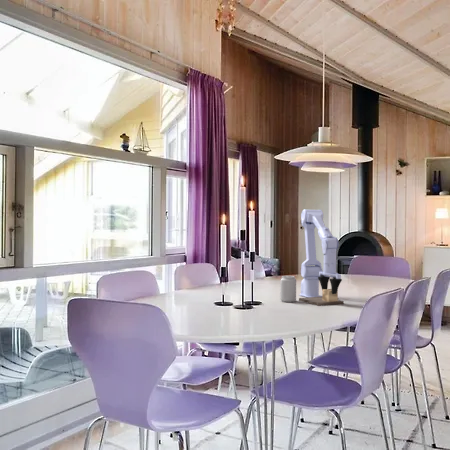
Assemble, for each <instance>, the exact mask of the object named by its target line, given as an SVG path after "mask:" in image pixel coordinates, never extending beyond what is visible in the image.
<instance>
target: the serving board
mask: <svg viewBox="0 0 450 450" xmlns="http://www.w3.org/2000/svg"><path fill="white" fill-rule="evenodd" d="M298 301H299V302H303V303H306V304H310V305H313V306H319V307H320V306H321V305H322V306H331V305H332V306H334V305H344V304H345V303H344V300H340V299H338V301H333V302H328V301H324V300H322V297H299V298H298Z"/></svg>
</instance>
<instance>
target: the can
mask: <svg viewBox="0 0 450 450" xmlns="http://www.w3.org/2000/svg"><path fill="white" fill-rule="evenodd" d="M279 284H280V285H279V287H280V289H279V291H280V293H279V298H280V299H279V300H280V301H281V302H282V303H294V302H295V301H296V300H297V278H296V276H294V275H282V276H281V279H280V282H279Z"/></svg>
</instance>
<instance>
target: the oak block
mask: <svg viewBox="0 0 450 450" xmlns="http://www.w3.org/2000/svg"><path fill="white" fill-rule="evenodd" d="M321 290H322V295H321V296H322V300H324V301H328V302H333V301H338V300H339V297H338V296H339V293H338V292H339V289H338V290H337V294H332V289H331V288H327V289H322V288H321Z"/></svg>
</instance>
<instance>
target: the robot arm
mask: <svg viewBox="0 0 450 450" xmlns="http://www.w3.org/2000/svg"><path fill="white" fill-rule="evenodd" d="M300 217H301V218H300V219H301V226H302V227H303V228H304V240H305V241H304V242H305V256H306V259H305V260H304V261H303V262H302V263H301V264H300V265H301V267H300V268H301V269H300V275H301V277H302V278H303V279H301V282H300V293H299V294H298V296H301V297H304V298H308V297H322V295H320V287H321V290H322V289H329V288H328V285H329V282H330V286H331V288H330V289H332V294H337V290H338V291H339V286H340V284H341V282H342V281H343V279H342V274H340V273H338V272H337V250H338V248H339V243H340V241H339V239H338V237H336V236H334V235H333V234H332V231H331V230H330V228H329V227H327V226H326V225H325V223H324V212H323V210H322V209H307V208H306V209H303V210H302V211H301V214H300ZM315 228H316V229H317V235H318V238H319V239H320V241H321V248H322V254H323V266H322V263H321V262H320V261H319V260H318V259H317V250H316V248H317V247H316V236H315V232H316V231H315Z"/></svg>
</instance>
